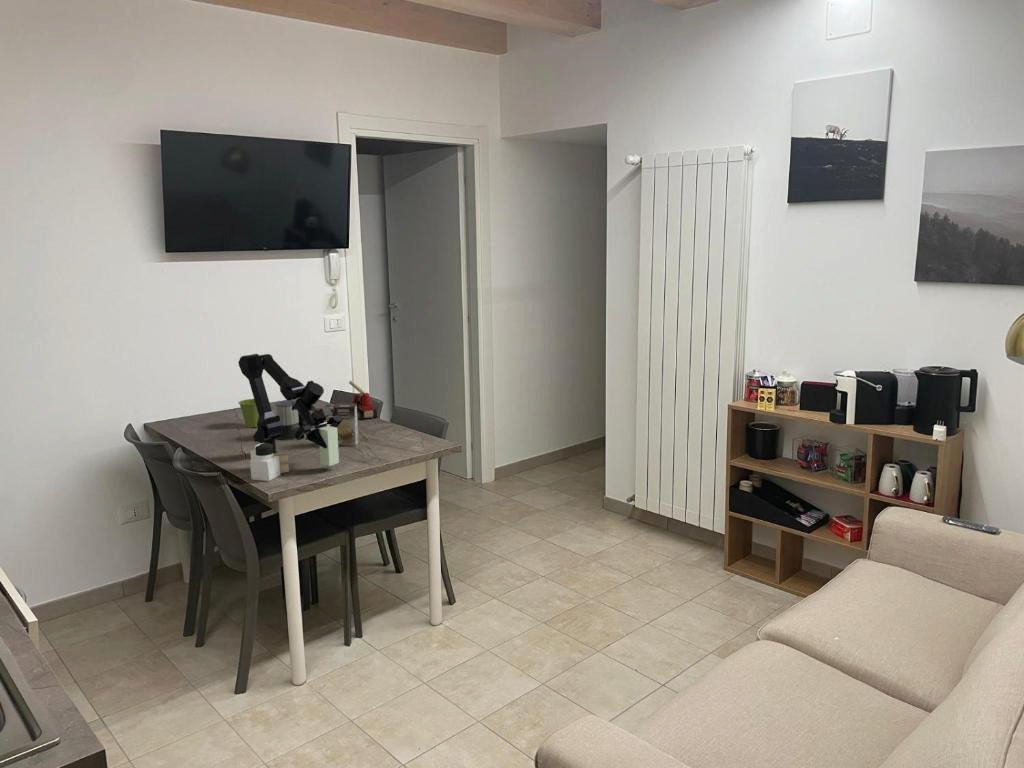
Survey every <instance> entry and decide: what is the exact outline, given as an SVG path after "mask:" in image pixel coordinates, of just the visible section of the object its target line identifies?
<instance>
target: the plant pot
mask: <svg viewBox="0 0 1024 768" xmlns="http://www.w3.org/2000/svg"><path fill="white" fill-rule="evenodd" d="M237 403H238V405H239V406H240V409H241V413H242V416H243V419H244V420H243V421H244V425H245V427H246V428H249V429H251V428H258V427H257V422H258V418H259V414H258V410H257V407H256V404H255V400H254V398H248V399H247V398H246V399H244V400H243V399H241V400H239V401H238V402H237Z"/></svg>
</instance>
